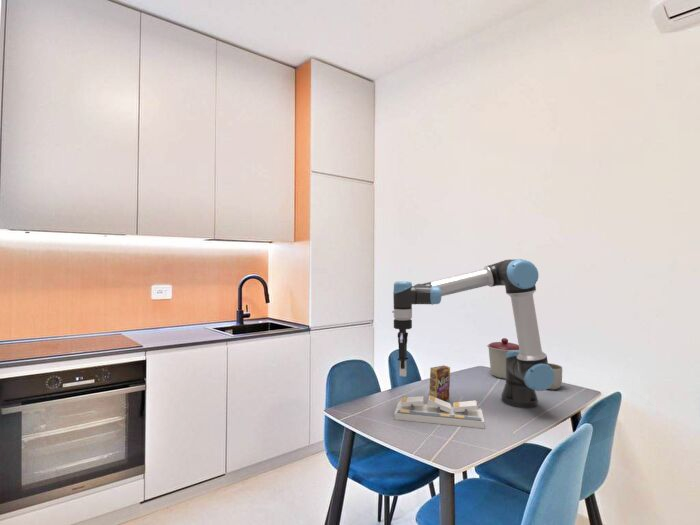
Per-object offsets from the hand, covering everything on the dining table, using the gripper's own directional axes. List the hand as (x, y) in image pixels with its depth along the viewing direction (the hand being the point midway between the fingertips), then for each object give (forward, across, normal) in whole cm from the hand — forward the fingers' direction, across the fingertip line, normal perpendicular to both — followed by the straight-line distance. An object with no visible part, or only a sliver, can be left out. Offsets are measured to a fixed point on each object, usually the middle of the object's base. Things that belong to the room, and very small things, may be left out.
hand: (402, 375), depth 170 cm
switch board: (+16, +1, +14) cm, 21 cm away
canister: (+17, -69, +48) cm, 86 cm away
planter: (+17, -54, +67) cm, 88 cm away
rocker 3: (+11, 0, +25) cm, 27 cm away
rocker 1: (+11, 0, +4) cm, 12 cm away
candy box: (+16, -19, +14) cm, 29 cm away
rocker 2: (+11, 0, +14) cm, 18 cm away
